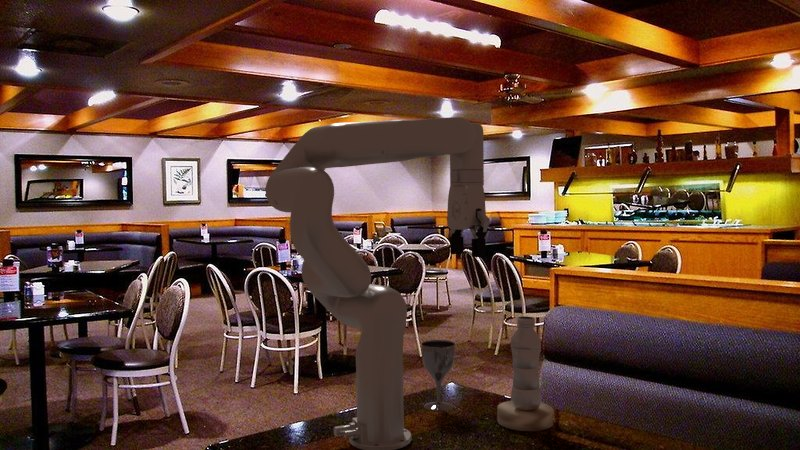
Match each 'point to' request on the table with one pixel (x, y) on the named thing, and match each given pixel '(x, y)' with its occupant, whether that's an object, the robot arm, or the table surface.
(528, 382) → the plastic bottle
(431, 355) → the wine glass
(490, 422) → the table surface
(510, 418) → the pedestal
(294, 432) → the table surface
